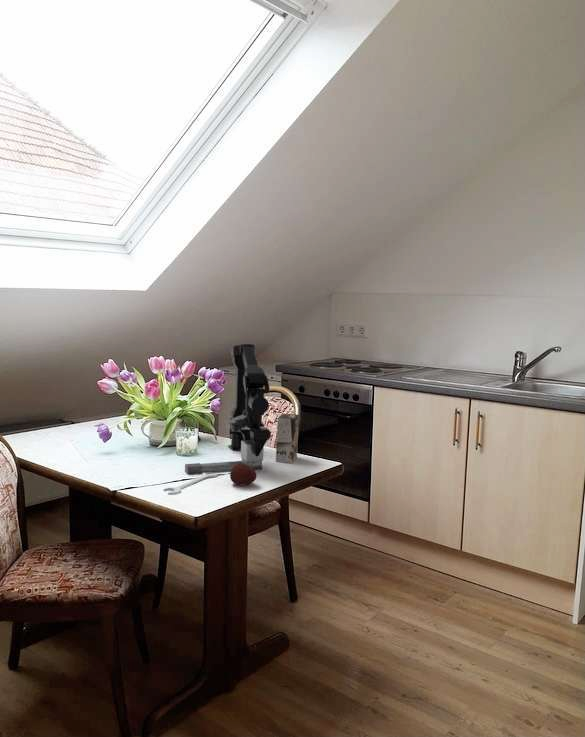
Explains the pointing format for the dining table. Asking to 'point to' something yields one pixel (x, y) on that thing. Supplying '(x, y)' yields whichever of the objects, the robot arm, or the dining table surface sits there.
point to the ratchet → (218, 466)
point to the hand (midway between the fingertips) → (252, 452)
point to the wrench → (190, 483)
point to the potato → (242, 474)
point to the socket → (250, 451)
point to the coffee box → (287, 438)
